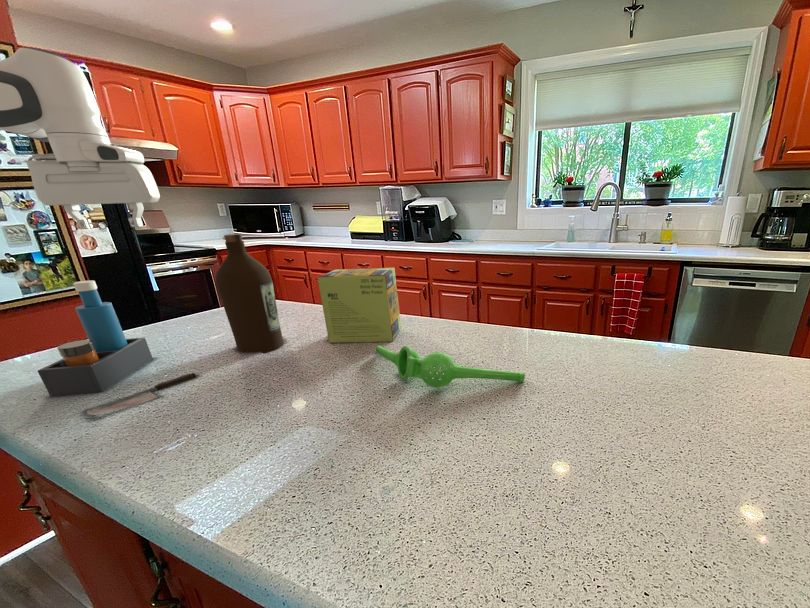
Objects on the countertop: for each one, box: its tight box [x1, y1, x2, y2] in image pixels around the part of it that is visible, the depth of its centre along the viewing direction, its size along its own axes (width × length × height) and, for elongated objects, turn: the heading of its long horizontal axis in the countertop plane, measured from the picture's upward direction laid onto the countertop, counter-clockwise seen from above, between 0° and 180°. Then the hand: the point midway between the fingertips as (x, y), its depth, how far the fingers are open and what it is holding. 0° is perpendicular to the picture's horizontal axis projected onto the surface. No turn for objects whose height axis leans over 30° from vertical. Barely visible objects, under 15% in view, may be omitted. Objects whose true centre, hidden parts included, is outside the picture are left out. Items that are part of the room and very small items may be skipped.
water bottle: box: [72, 279, 128, 352], centre depth 77 cm, size 5×5×18 cm
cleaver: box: [86, 372, 197, 416], centre depth 69 cm, size 16×1×5 cm
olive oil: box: [215, 233, 284, 354], centre depth 87 cm, size 11×11×25 cm
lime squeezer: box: [375, 345, 526, 389], centre depth 72 cm, size 34×12×6 cm, turn 63°
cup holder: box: [37, 337, 154, 398], centre depth 76 cm, size 8×16×6 cm, turn 10°
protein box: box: [317, 267, 402, 344], centre depth 94 cm, size 10×15×16 cm
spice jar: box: [56, 339, 99, 367], centre depth 72 cm, size 5×5×8 cm
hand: (112, 227), depth 82 cm, fingers open, 8 cm apart
